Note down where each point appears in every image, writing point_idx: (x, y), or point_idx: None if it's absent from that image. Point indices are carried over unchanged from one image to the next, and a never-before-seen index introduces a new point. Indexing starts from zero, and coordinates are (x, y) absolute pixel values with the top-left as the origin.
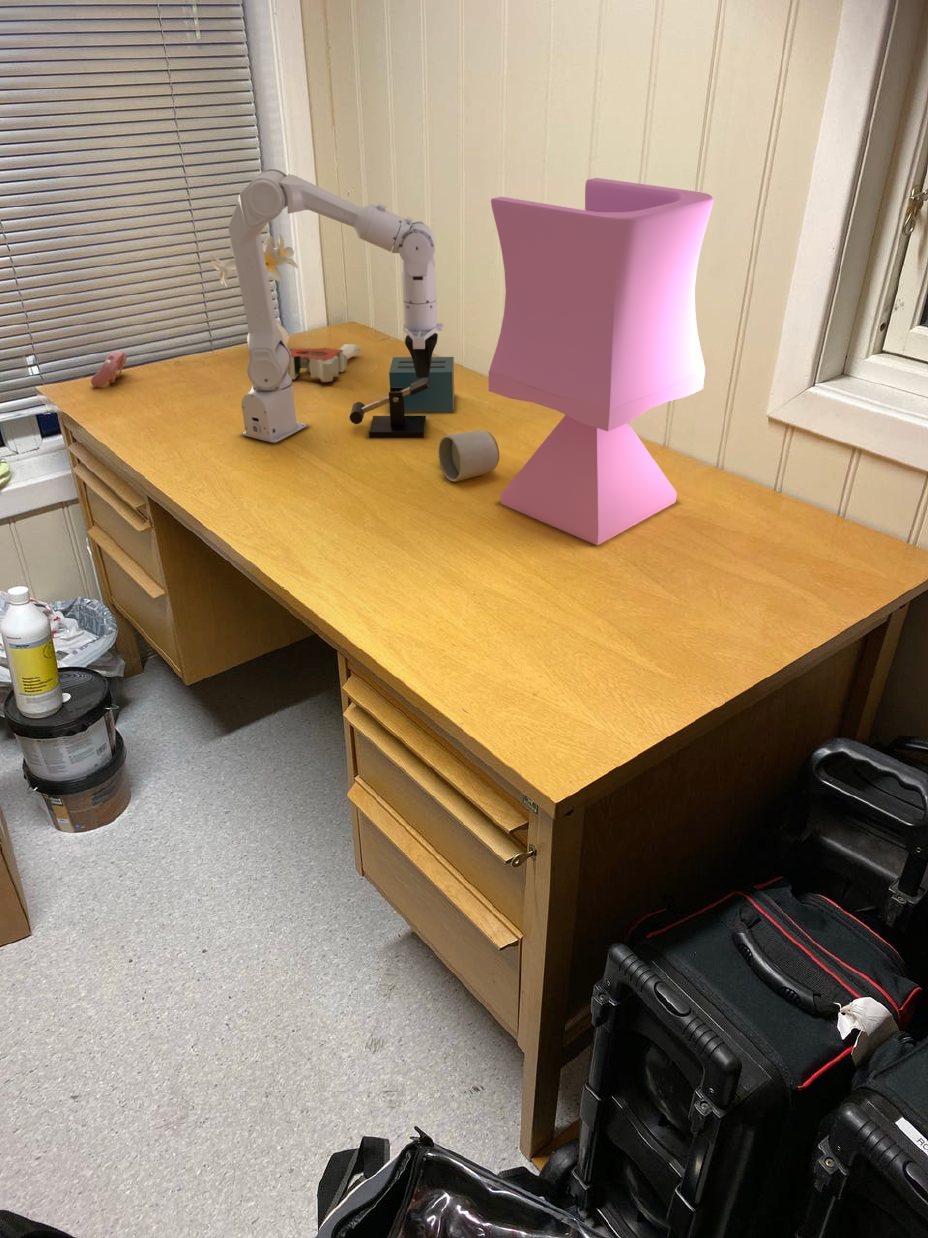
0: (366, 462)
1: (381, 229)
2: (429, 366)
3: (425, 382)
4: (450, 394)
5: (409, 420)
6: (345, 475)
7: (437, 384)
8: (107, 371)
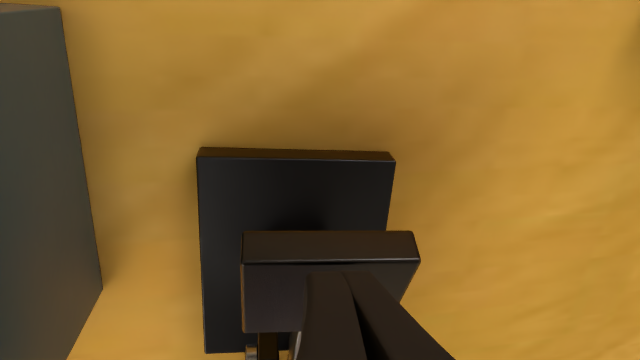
0: (551, 314)
1: None
2: (428, 335)
3: (377, 269)
4: (10, 28)
5: (262, 223)
6: (617, 351)
7: None
8: None
